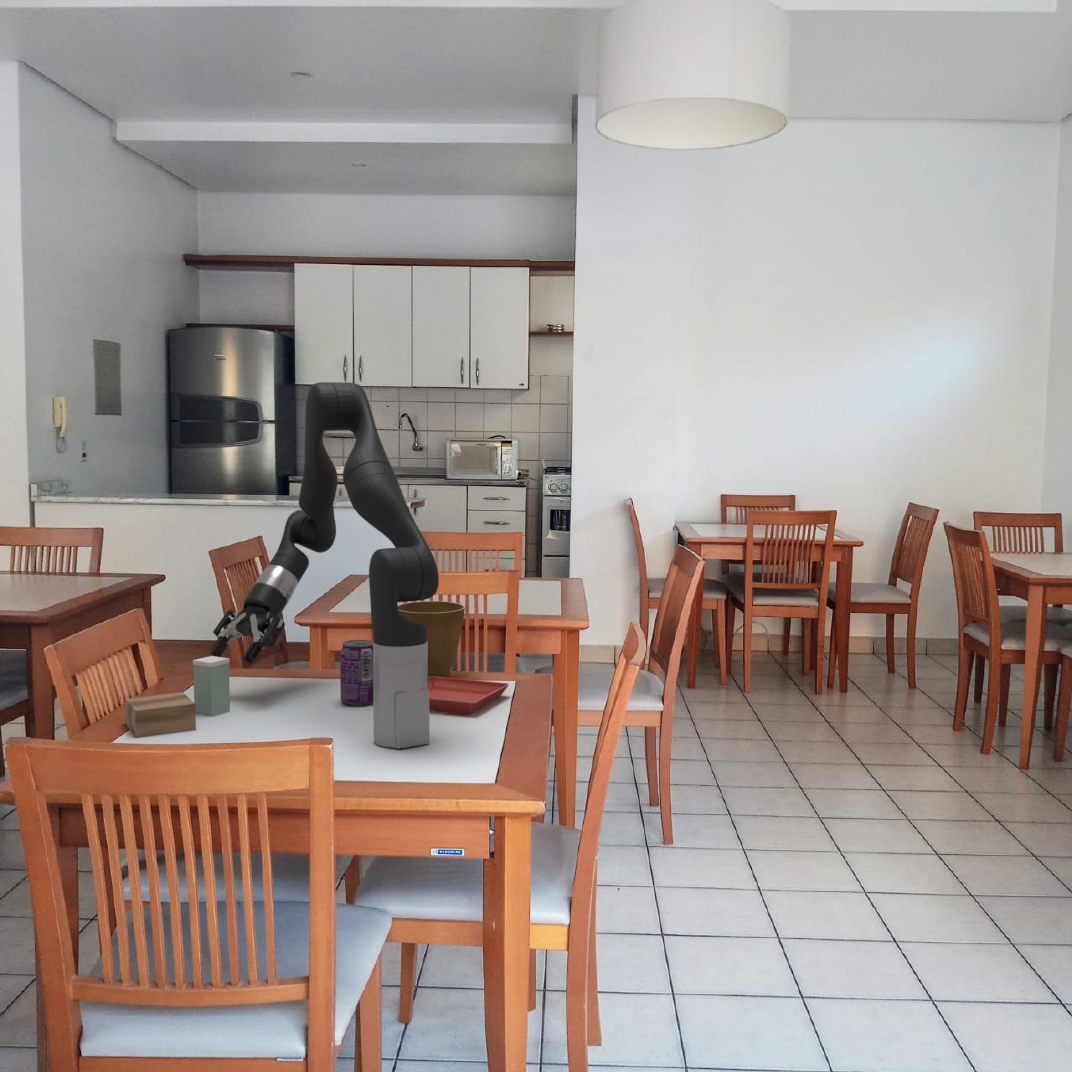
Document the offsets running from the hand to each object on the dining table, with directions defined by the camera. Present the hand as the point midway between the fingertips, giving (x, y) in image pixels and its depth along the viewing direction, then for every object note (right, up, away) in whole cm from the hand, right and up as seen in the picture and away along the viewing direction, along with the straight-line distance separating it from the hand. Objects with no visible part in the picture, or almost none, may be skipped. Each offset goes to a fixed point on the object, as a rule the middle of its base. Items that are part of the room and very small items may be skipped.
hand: (229, 659), depth 198 cm
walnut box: (-8, -11, -14) cm, 19 cm away
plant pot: (+36, -8, +26) cm, 45 cm away
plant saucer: (+42, -10, +6) cm, 43 cm away
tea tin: (-2, -10, -3) cm, 10 cm away
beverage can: (+24, -9, +5) cm, 26 cm away
